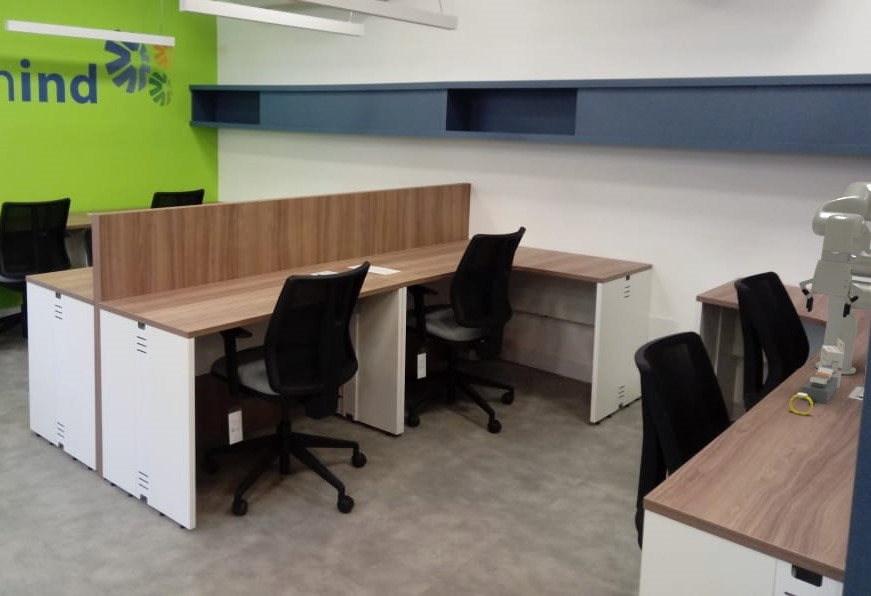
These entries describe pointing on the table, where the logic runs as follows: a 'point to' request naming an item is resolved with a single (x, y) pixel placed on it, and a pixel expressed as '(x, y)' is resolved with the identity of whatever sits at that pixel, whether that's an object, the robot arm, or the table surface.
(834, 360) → the ink cartridge box
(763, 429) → the table surface
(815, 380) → the plate
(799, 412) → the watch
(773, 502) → the table surface
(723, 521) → the table surface
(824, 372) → the rocker
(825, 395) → the rocker switch panel
